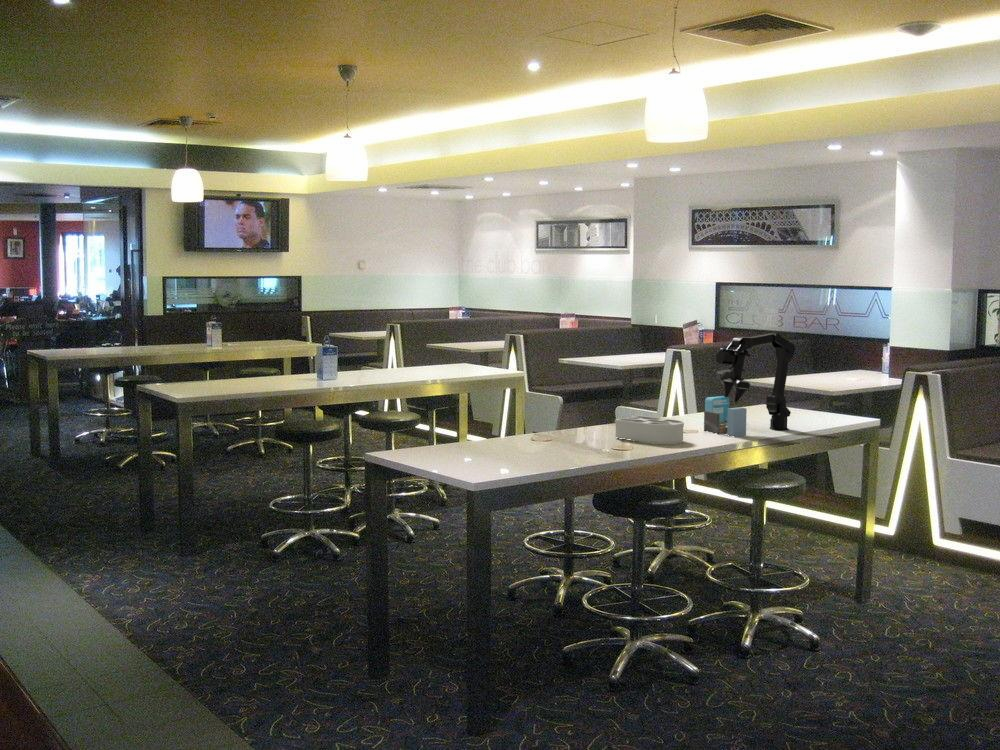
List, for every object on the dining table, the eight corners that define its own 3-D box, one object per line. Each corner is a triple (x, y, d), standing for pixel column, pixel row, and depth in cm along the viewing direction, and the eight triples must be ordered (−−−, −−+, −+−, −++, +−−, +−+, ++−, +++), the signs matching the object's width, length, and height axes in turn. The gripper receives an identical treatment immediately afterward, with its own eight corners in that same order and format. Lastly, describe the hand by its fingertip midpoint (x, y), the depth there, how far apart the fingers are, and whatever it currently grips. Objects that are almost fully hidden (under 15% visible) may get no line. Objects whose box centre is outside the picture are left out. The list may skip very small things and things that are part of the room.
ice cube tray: (638, 435, 447) (638, 415, 446) (691, 442, 427) (691, 421, 426) (614, 439, 436) (614, 419, 435) (667, 447, 416) (667, 426, 415)
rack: (724, 429, 460) (724, 409, 459) (737, 432, 451) (738, 412, 450) (703, 430, 455) (704, 411, 454) (717, 434, 446) (717, 413, 445)
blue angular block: (740, 434, 444) (740, 407, 443) (746, 435, 441) (746, 408, 439) (727, 435, 441) (727, 408, 440) (732, 437, 438) (733, 409, 437)
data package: (711, 423, 477) (712, 398, 476) (704, 422, 481) (704, 397, 479) (729, 421, 484) (729, 396, 482) (722, 420, 487) (722, 395, 486)
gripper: (711, 359, 452) (705, 393, 455) (730, 367, 435) (723, 403, 438) (734, 361, 455) (727, 395, 458) (753, 370, 438) (746, 405, 441)
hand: (730, 399), depth 449 cm, fingers open, 9 cm apart
